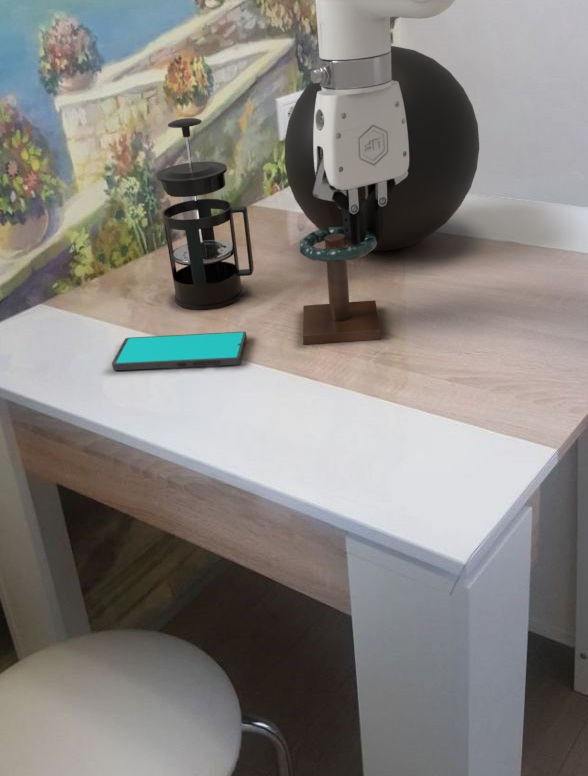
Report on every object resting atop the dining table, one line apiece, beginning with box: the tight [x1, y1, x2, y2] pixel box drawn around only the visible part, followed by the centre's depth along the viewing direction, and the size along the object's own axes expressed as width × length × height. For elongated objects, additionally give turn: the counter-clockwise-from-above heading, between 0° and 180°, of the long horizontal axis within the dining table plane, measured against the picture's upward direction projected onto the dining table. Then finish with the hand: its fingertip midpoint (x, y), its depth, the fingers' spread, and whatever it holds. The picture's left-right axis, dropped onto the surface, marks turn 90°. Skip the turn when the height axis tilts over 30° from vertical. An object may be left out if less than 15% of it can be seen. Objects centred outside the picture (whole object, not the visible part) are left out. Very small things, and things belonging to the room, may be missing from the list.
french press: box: [155, 117, 255, 311], centre depth 113 cm, size 12×9×23 cm
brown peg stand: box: [302, 233, 381, 345], centre depth 104 cm, size 9×9×11 cm
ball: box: [284, 45, 480, 252], centre depth 123 cm, size 27×27×27 cm
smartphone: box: [111, 331, 248, 371], centre depth 104 cm, size 7×1×15 cm
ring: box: [299, 226, 377, 263], centre depth 101 cm, size 9×9×1 cm
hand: (364, 240), depth 103 cm, fingers closed on ring, 1 cm apart
